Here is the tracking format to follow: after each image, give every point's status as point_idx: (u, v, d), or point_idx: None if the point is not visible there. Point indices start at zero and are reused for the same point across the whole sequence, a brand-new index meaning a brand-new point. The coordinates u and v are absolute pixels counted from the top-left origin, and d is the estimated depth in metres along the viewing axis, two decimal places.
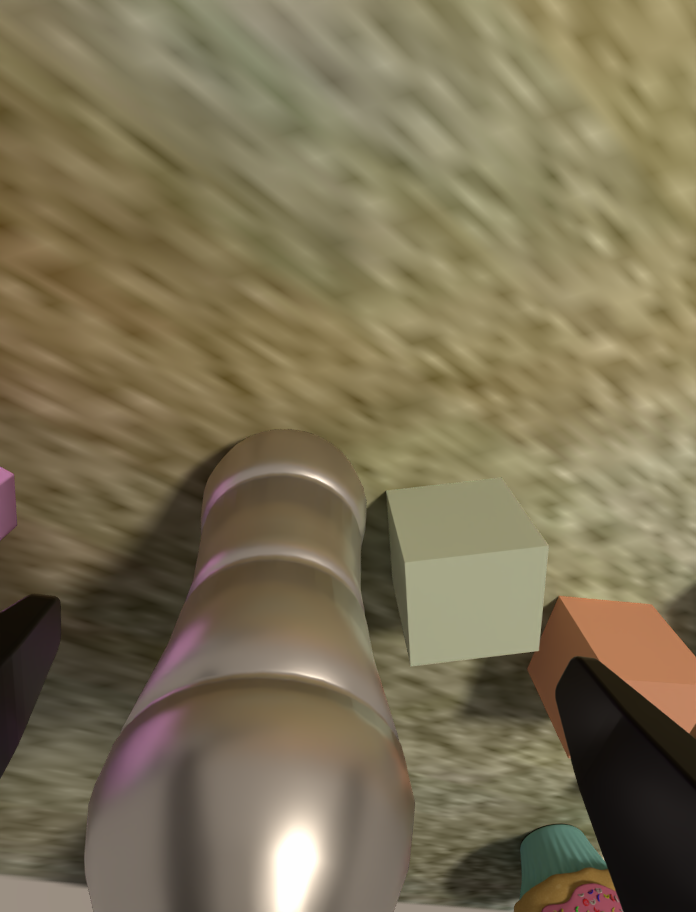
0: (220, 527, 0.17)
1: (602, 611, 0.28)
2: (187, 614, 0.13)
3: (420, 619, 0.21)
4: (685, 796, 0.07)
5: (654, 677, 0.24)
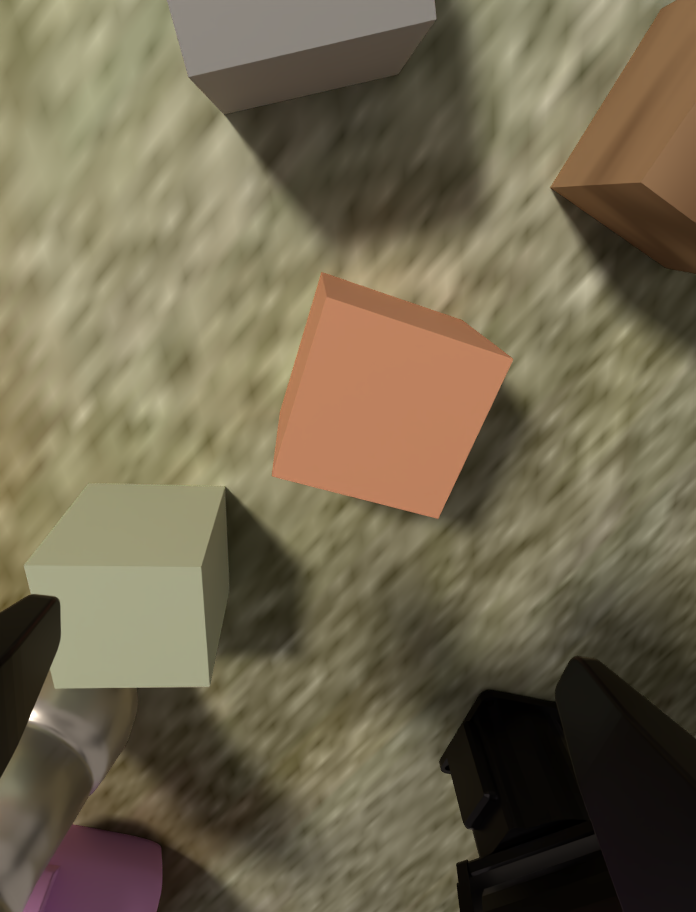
0: None
1: (293, 370, 0.19)
2: None
3: (137, 677, 0.19)
4: (685, 796, 0.07)
5: (293, 403, 0.15)
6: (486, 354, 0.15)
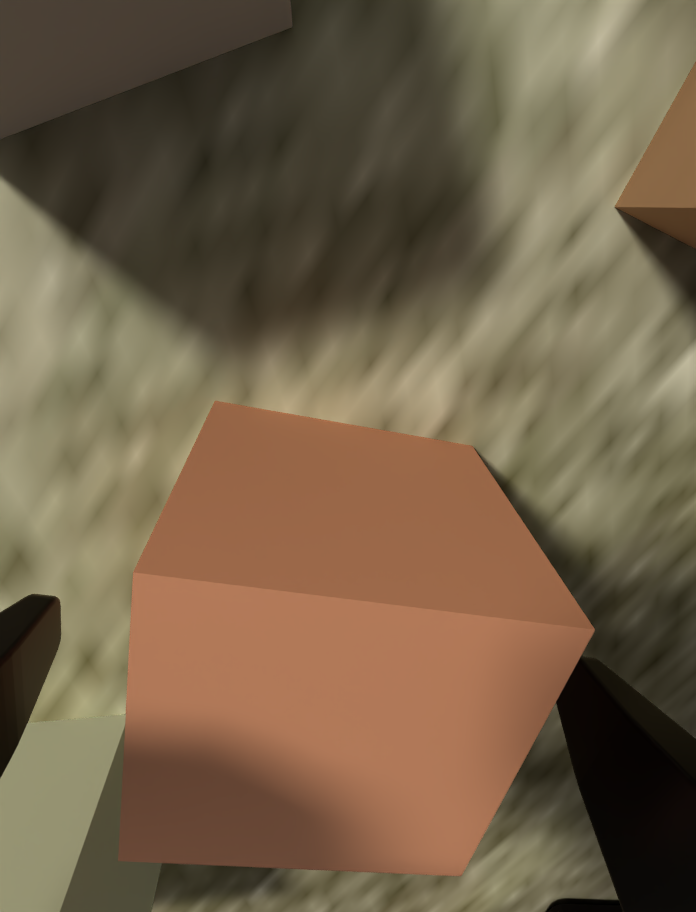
0: None
1: None
2: None
3: None
4: (685, 796, 0.07)
5: (128, 745, 0.07)
6: (532, 628, 0.06)
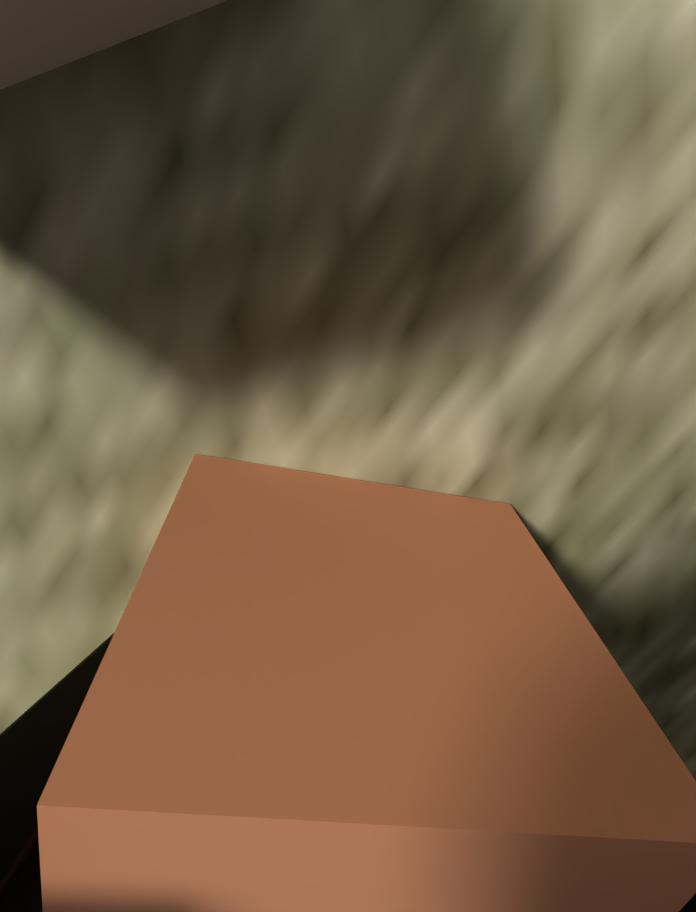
0: None
1: None
2: None
3: None
4: None
5: None
6: (647, 845, 0.04)
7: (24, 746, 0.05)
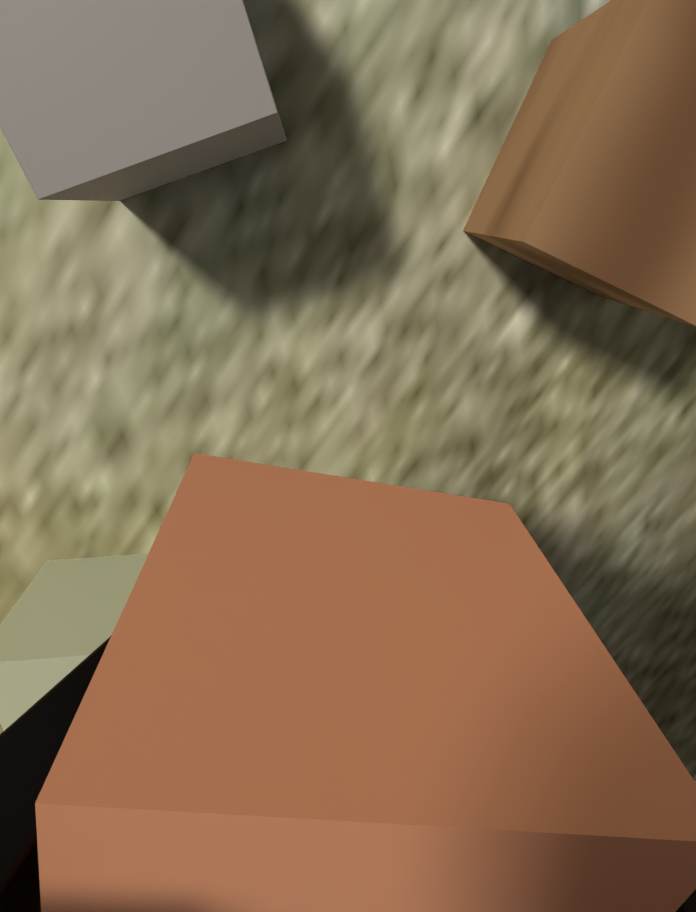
0: None
1: None
2: None
3: None
4: None
5: None
6: (645, 844, 0.04)
7: (24, 746, 0.05)
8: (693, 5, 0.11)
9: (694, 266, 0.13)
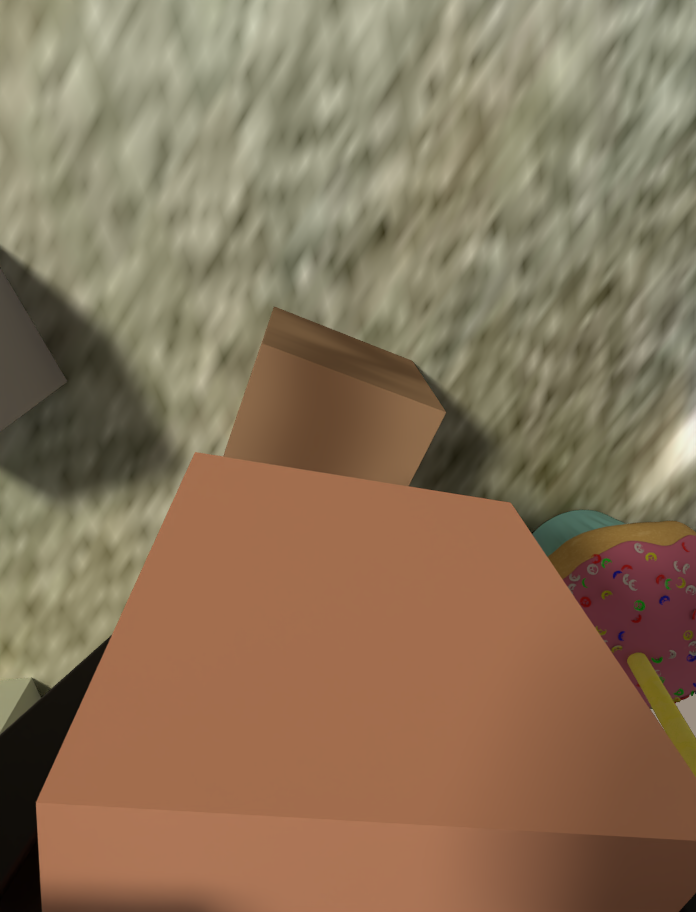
0: None
1: None
2: None
3: None
4: None
5: None
6: (648, 843, 0.04)
7: (24, 746, 0.05)
8: (291, 366, 0.14)
9: None
